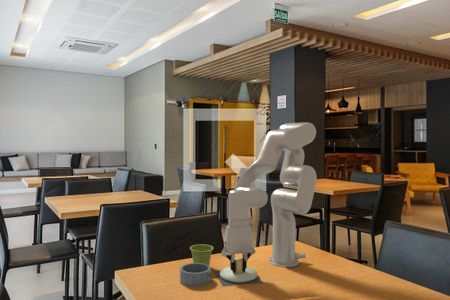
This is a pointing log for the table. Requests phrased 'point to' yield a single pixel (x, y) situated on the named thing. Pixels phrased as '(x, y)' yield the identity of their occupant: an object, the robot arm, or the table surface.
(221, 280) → the mat
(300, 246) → the table surface
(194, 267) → the bowl
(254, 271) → the lid
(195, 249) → the plant pot
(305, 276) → the table surface
